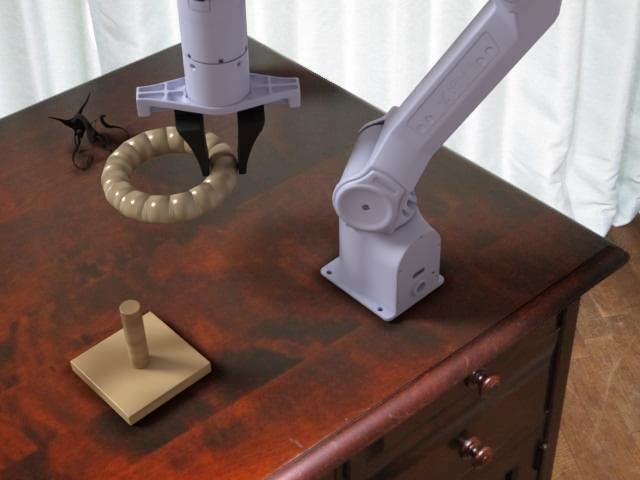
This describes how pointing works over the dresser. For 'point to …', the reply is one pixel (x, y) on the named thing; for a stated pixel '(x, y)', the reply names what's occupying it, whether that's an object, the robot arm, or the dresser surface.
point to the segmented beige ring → (167, 206)
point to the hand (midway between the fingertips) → (224, 168)
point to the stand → (140, 364)
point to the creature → (87, 130)
